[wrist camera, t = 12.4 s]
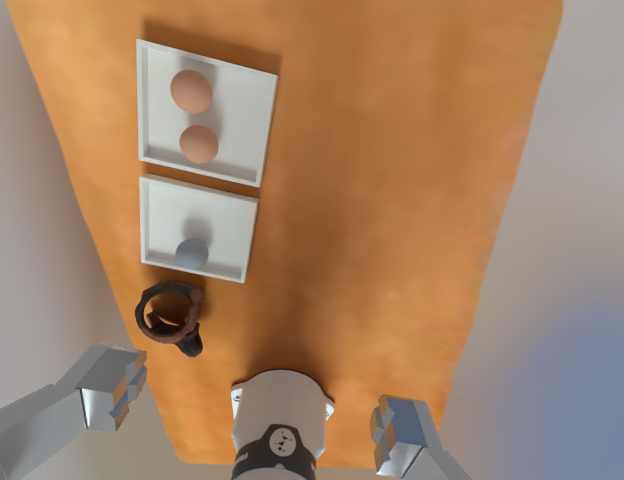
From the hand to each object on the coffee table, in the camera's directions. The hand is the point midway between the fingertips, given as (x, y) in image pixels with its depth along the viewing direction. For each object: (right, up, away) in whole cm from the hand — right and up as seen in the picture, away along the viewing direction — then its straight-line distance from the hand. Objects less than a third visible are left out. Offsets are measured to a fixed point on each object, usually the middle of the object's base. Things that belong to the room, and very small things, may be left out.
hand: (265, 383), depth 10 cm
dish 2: (-13, +6, +30) cm, 33 cm away
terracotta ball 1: (-10, +21, +22) cm, 31 cm away
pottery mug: (-18, -5, +36) cm, 40 cm away
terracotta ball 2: (-11, +16, +24) cm, 31 cm away
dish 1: (-10, +19, +24) cm, 32 cm away
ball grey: (-14, +4, +30) cm, 33 cm away
